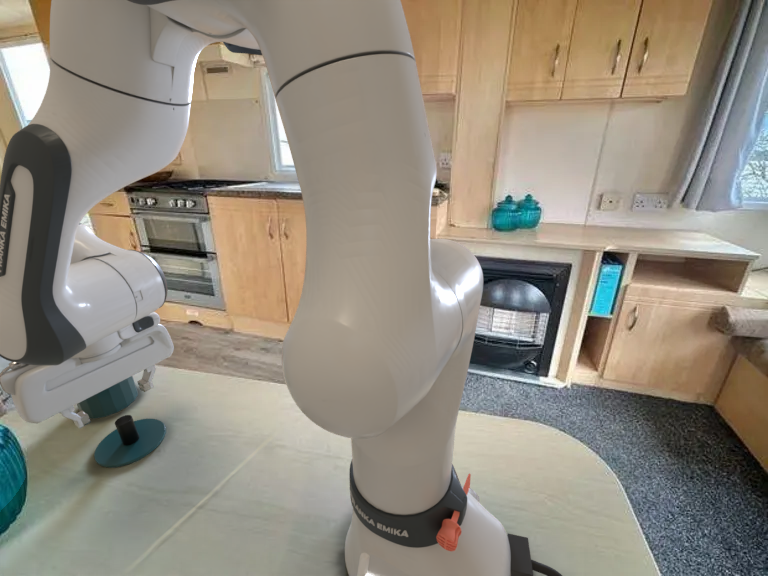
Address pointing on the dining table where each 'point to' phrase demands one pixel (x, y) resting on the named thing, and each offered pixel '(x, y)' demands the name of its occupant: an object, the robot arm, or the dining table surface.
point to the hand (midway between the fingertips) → (117, 405)
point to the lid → (129, 441)
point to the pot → (110, 399)
